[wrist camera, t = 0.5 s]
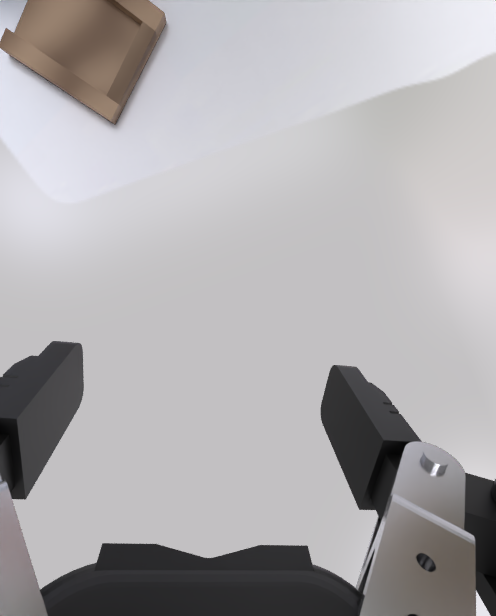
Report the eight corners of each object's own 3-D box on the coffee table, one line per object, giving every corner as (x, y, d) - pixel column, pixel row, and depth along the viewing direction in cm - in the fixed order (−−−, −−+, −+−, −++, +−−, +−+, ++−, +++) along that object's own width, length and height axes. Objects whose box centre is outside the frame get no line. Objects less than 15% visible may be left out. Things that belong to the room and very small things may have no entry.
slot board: (8, 54, 31) (-2, 46, 29) (58, -62, 29) (49, -77, 27) (115, 124, 33) (110, 120, 32) (166, 22, 31) (164, 12, 30)
